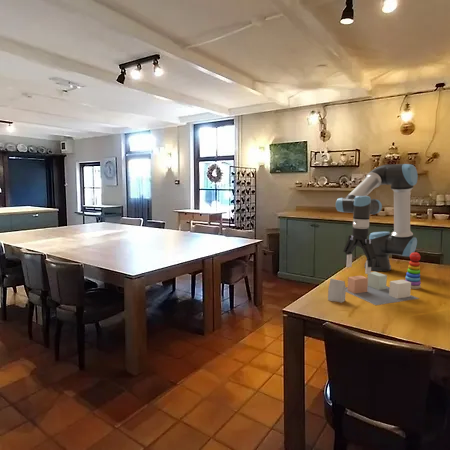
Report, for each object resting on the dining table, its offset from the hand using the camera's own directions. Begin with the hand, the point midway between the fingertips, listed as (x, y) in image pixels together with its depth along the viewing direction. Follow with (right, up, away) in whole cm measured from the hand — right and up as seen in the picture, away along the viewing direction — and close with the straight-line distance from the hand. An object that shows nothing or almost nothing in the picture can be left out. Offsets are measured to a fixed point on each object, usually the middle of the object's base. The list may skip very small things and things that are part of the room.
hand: (358, 270), depth 180 cm
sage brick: (+13, -10, +8) cm, 18 cm away
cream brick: (+18, -12, -5) cm, 22 cm away
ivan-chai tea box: (-14, -13, -11) cm, 22 cm away
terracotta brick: (0, -11, +2) cm, 11 cm away
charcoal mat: (+9, -12, -1) cm, 15 cm away
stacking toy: (+32, -10, +9) cm, 35 cm away
